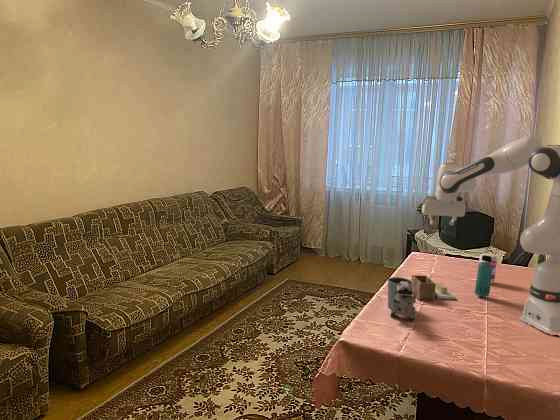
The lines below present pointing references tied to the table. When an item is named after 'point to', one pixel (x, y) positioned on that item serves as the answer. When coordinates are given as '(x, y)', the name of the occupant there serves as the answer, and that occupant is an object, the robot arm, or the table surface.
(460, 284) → the table surface
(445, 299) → the mat
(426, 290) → the box
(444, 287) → the lid
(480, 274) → the beverage bottle
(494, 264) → the supplement can
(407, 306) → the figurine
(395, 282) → the gray embossed pot
